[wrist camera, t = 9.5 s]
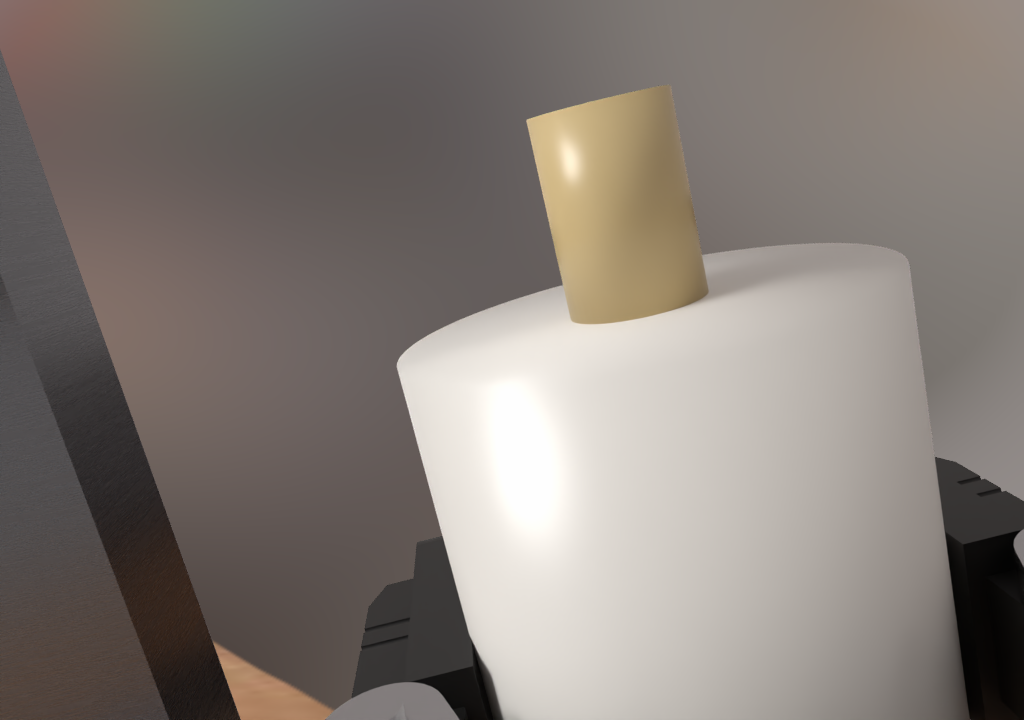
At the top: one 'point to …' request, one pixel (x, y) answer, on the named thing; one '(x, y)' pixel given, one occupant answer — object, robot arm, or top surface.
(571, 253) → the white cylinder
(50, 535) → the press
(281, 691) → the top surface
